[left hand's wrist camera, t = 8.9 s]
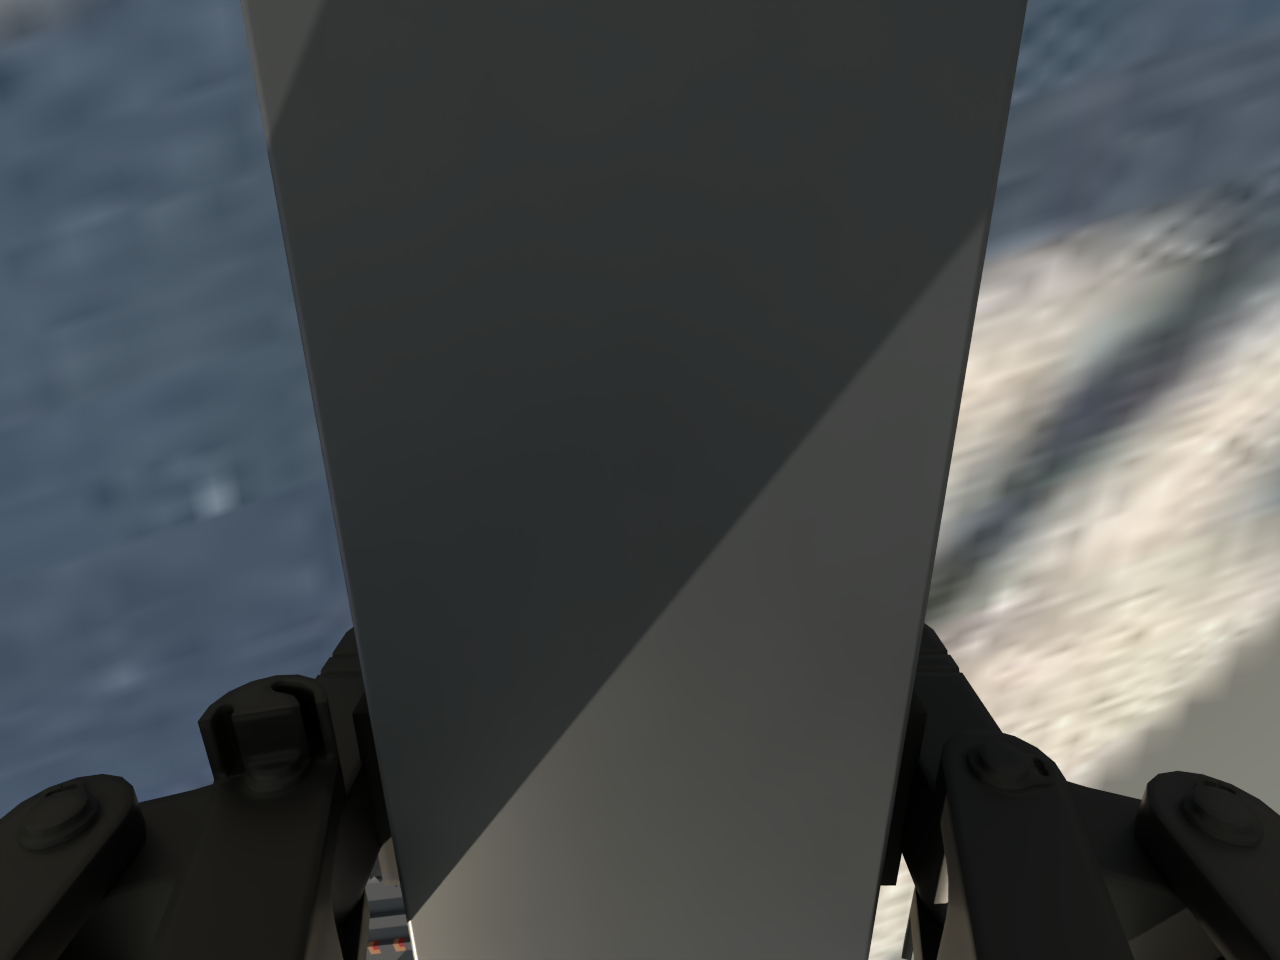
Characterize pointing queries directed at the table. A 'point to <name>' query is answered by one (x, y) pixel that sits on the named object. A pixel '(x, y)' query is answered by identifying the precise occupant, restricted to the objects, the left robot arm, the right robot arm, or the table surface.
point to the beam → (637, 437)
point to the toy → (386, 920)
